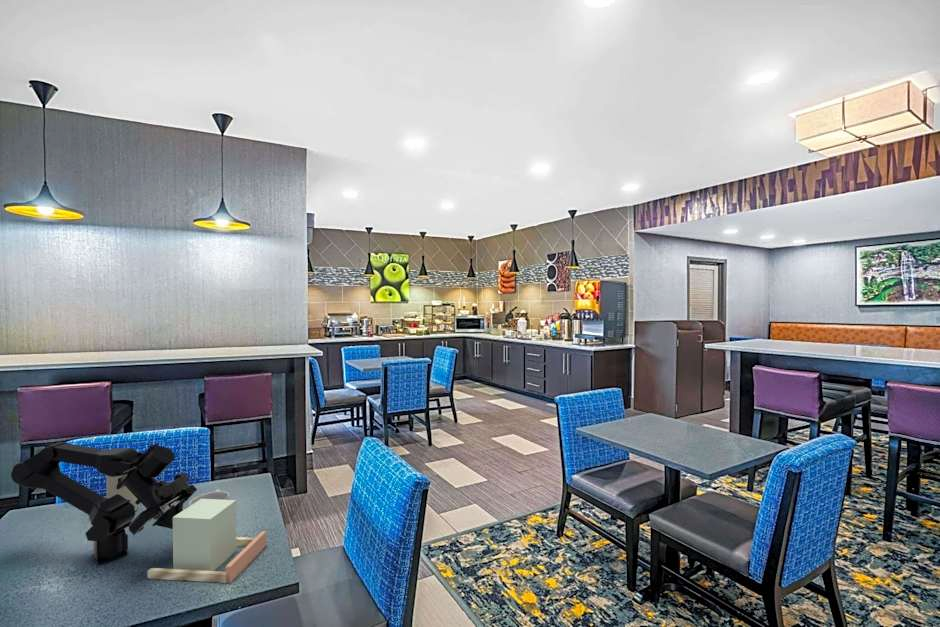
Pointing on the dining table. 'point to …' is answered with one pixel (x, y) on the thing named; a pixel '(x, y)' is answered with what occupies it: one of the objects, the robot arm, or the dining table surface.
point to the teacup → (211, 496)
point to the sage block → (204, 535)
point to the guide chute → (232, 571)
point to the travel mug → (124, 492)
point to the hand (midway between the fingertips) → (186, 530)
